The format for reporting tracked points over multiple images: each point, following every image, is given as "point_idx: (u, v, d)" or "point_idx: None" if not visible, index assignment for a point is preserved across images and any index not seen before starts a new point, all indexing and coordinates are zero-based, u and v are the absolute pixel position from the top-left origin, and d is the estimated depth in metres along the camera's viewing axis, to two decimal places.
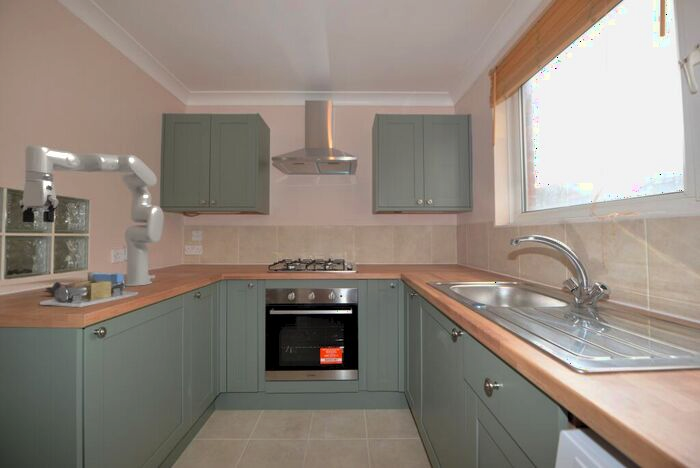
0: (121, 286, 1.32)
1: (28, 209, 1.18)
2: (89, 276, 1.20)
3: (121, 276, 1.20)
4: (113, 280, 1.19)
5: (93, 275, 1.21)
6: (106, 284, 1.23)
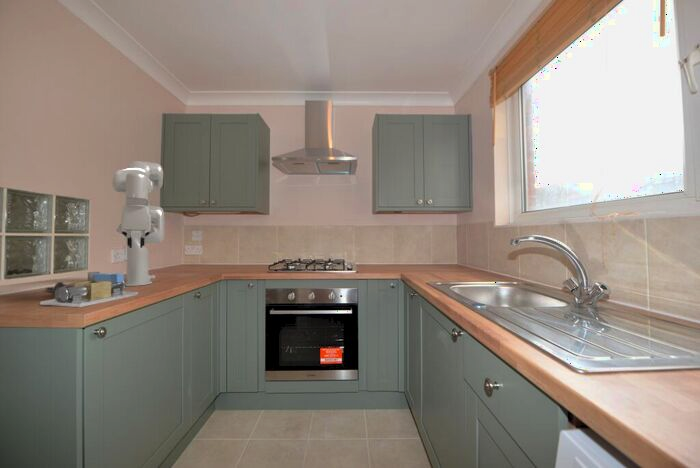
0: (121, 286, 1.32)
1: (129, 235, 1.23)
2: (89, 276, 1.20)
3: (121, 276, 1.20)
4: (113, 280, 1.19)
5: (93, 275, 1.21)
6: (106, 284, 1.23)
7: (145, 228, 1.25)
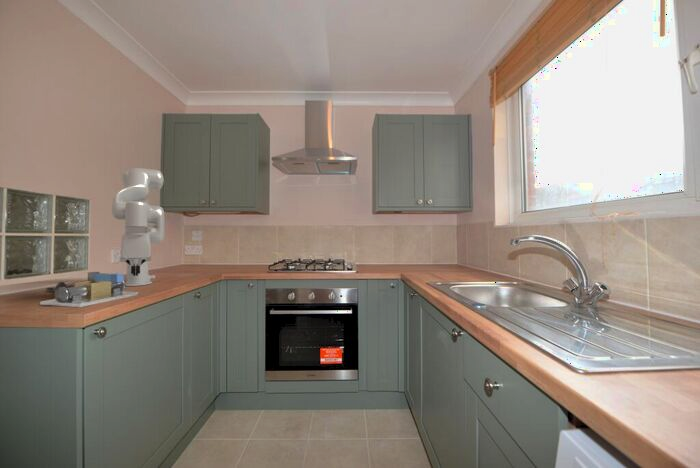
0: (121, 286, 1.32)
1: None
2: (89, 276, 1.20)
3: (121, 276, 1.20)
4: (113, 280, 1.19)
5: (93, 275, 1.21)
6: (106, 284, 1.23)
7: (145, 256, 1.24)
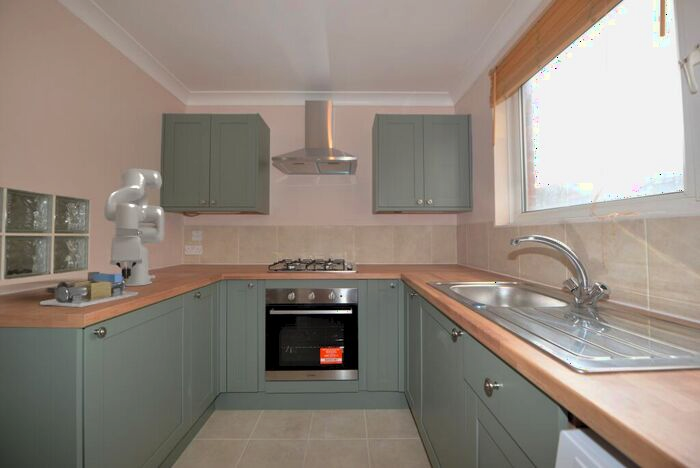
0: (121, 286, 1.32)
1: (124, 266, 1.22)
2: (89, 276, 1.20)
3: (119, 276, 1.19)
4: (111, 280, 1.18)
5: (93, 275, 1.21)
6: (106, 284, 1.23)
7: (136, 258, 1.23)
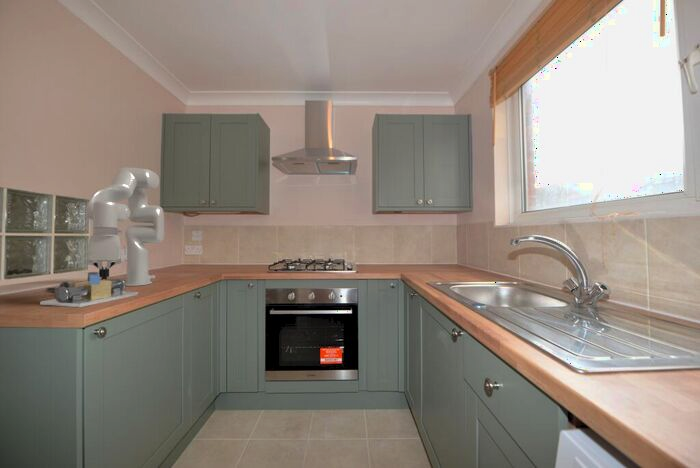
0: (121, 286, 1.32)
1: (101, 266, 1.18)
2: None
3: (96, 279, 1.13)
4: None
5: (89, 275, 1.20)
6: (106, 284, 1.23)
7: (114, 258, 1.18)
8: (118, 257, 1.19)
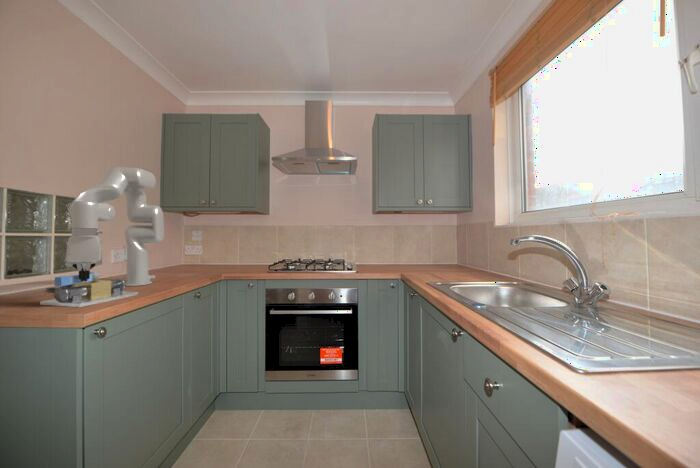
0: (121, 286, 1.32)
1: (81, 267, 1.15)
2: None
3: (59, 280, 1.09)
4: None
5: None
6: (106, 284, 1.23)
7: (94, 260, 1.15)
8: (98, 258, 1.16)
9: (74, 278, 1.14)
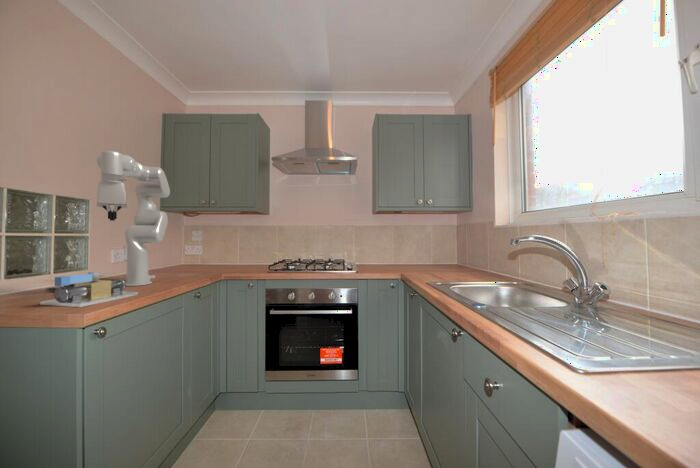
0: (121, 286, 1.32)
1: (110, 209, 1.34)
2: None
3: (59, 280, 1.09)
4: None
5: None
6: (106, 284, 1.23)
7: (120, 202, 1.34)
8: (124, 202, 1.35)
9: (74, 278, 1.14)
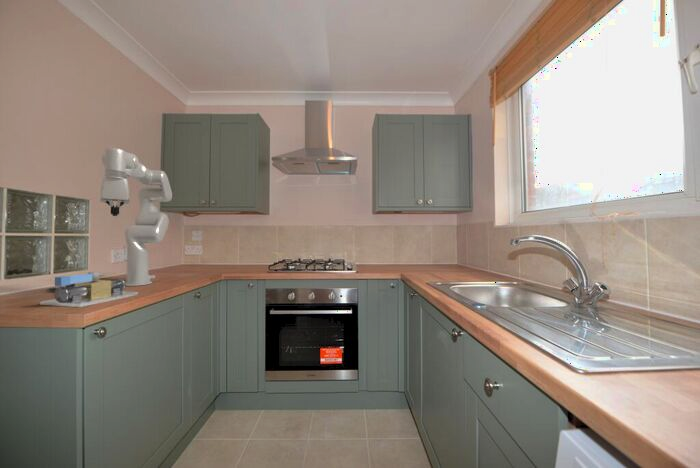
0: (121, 286, 1.32)
1: None
2: None
3: (59, 280, 1.09)
4: None
5: None
6: (106, 284, 1.23)
7: (123, 198, 1.37)
8: (126, 197, 1.38)
9: (74, 278, 1.14)
